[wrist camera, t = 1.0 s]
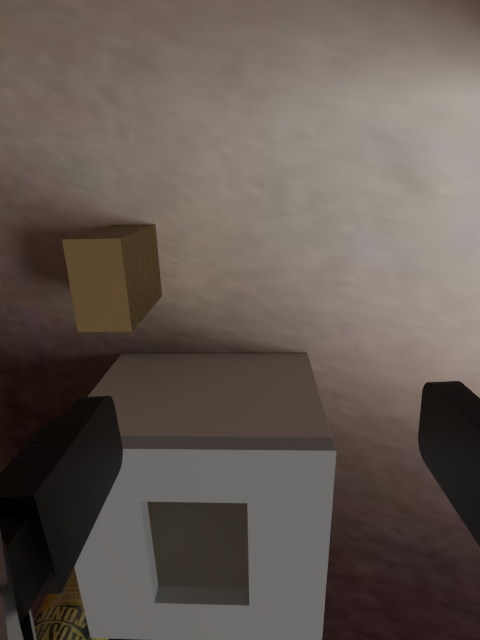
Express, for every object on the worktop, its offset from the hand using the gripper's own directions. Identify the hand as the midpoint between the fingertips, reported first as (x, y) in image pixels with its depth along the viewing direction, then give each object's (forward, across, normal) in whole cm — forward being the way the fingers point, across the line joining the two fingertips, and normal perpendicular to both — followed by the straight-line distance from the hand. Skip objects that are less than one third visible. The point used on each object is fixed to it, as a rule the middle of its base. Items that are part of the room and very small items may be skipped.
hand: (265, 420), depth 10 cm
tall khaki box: (+18, +8, -2) cm, 20 cm away
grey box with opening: (+18, +4, +12) cm, 22 cm away
